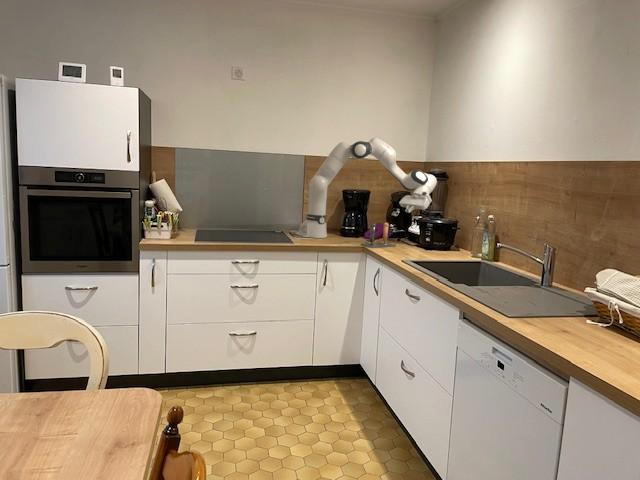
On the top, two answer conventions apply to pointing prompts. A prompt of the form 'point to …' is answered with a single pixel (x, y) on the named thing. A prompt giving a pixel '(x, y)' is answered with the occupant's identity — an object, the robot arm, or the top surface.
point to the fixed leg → (372, 233)
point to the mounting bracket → (377, 231)
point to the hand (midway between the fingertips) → (407, 211)
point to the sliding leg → (385, 232)
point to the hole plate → (378, 244)
